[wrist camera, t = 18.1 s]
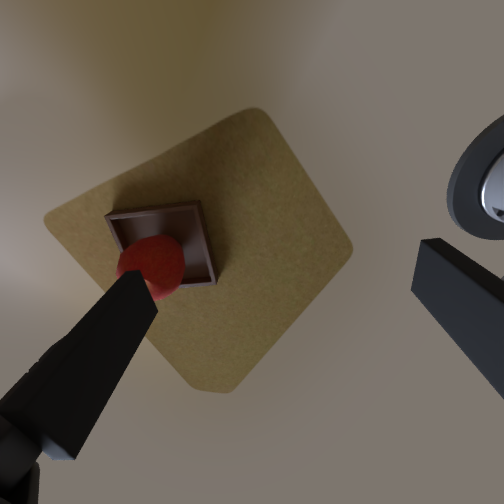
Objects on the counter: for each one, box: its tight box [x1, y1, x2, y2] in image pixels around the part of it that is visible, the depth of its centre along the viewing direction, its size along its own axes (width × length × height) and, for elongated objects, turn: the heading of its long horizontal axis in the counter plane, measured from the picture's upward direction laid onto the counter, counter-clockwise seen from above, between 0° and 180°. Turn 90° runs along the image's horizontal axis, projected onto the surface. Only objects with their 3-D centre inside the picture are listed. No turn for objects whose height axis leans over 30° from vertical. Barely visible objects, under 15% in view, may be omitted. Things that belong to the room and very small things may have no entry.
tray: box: [104, 200, 219, 288], centre depth 46 cm, size 17×17×2 cm
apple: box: [116, 234, 185, 301], centre depth 40 cm, size 10×10×14 cm
